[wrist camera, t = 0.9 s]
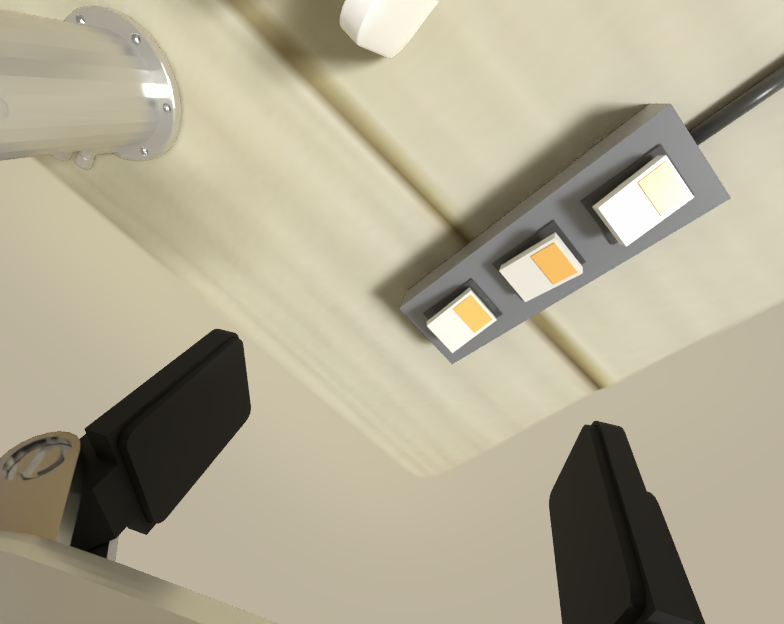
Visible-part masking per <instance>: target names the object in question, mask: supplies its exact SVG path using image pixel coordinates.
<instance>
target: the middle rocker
mask: <svg viewBox="0 0 784 624" xmlns="http://www.w3.org/2000/svg"><path fill="white" fill-rule="evenodd" d="M499 272H500V273H501V274H502V275H503V276H504V278H505V279H506V280H507V281H508V282H509V283H510V285H511V286H512V287H513V288H514V289H515V291H516V292H517V293H518V294H519V295H520V296H521V298H522V299H523V300H524V301H525V302H527V301H529V300H531V299H533V298H535V297H537V296H539V295H541V294H543V293H545V292H547V291H549V290H551V289H553V288H555V287H557V286H559V285H561V284H563V283H565V282H567V281H569V280H571V279H573V278H575V277H577V276H579V275H581V274H583V267H582V266H581V264H580V263H579V262H578V260H577V259H576V258H575V257H574V255H573V254H572V253H571V252H570V250H569V249H568V248H567V246H566V245H565V244H564V243H563V241H562V240H561V239H560V237H559V236H558V235H557V234H556V232H555V233H553V234H552V235H550V236H548V237H547V238H545V239H543V240H542V241H540V242H539V243H537V244H535V245H534V246H532V247H530V248H529V249H527V250H525V251H524V252H522V253H520V254H519V255H517V256H515V257H514V258H512V259H510V260H509V261H507V262H506V263H504V264H502V265H501V267H500V270H499Z"/></svg>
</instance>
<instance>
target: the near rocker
mask: <svg viewBox="0 0 784 624" xmlns="http://www.w3.org/2000/svg"><path fill="white" fill-rule="evenodd" d="M692 198H694V196H693V195H692V193H691V192H690V190H689V189H688V187H687V186H686V184H685V183H684V181H683V180H682V178H681V177H680V175H679V174H678V172H677V171H676V169H675V168H674V166H673V165H672V163H671V162H670V160H669V159H668V157H667V156H666V155H659V156H656V157H655V158H654V159H652V160H651V161H650V162H648V163H647V164H646V165H645V166H643V167H642V168H641V169H640V170H638V171H637V172H636V173H634V174H633V175H632V176H631V177H629V178H628V179H627V180H626V181H624V182H623V183H622V184H620V185H619V186H618V187H617V188H615V189H614V190H613V191H612V192H610V193H609V194H608V195H606V196H605V197H604V198H603V199H601V200H600V201H599V202H598V203H596V204H595V205H594V206H592V207H593V209H594V210H595V211H596V213H597V214H598V216H599V217H600V218H601V220H602V221H603V222H604V224H605V225H606V226H607V228H608V229H609V230H610V232H611V233H612V234H613V236H614V237H615V238H616V240H617V241H618V243H619V244H621V245H624V246H626V247H627V246H628V245H629V244H631V243H632V242H633V241H635V240H636V239H638V238H639V237H640V236H642V235H643V234H644V233H646V232H647V231H649V230H650V229H651V228H653V227H654V226H655V225H657V224H658V223H659V222H661V221H662V220H664V219H665V218H666V217H668V216H669V215H670V214H672V213H673V212H675V211H676V210H677V209H679V208H680V207H681V206H683V205H684V204H686V203H687V202H688V201H690V200H691V199H692Z"/></svg>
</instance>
